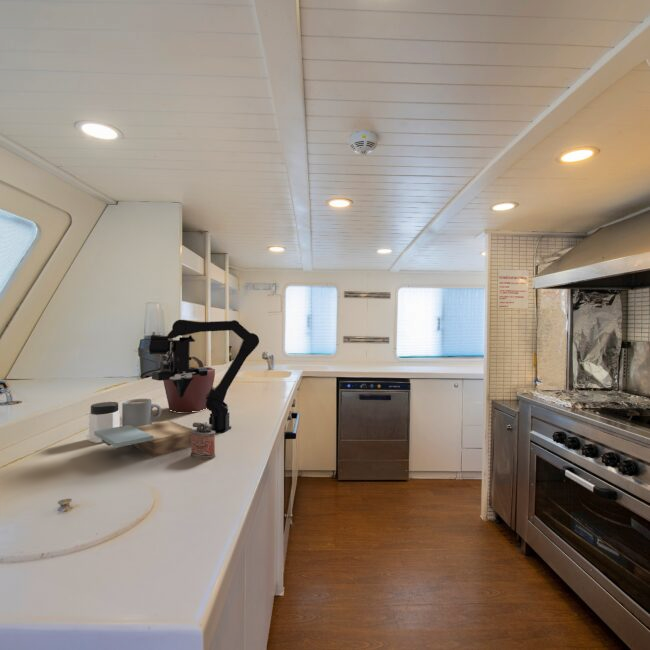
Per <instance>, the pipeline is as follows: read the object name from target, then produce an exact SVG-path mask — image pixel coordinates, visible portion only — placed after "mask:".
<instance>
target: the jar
mask: <svg viewBox="0 0 650 650" xmlns="http://www.w3.org/2000/svg"><path fill="white" fill-rule="evenodd" d="M120 411H121V410H120V409H119V402H117V401H103V402H96V403H93V404H91V405H90V413H88V441H89V442H91V443H95V444H101V443H103V442H102V439H100V438H99V437H97V436H95V435H94V431H97V430H103V429H109V428H114V427H120V425H121V423H120V422H121V420H120V419H121V416H120Z"/></svg>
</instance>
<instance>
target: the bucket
mask: <svg viewBox="0 0 650 650" xmlns="http://www.w3.org/2000/svg"><path fill="white" fill-rule="evenodd" d="M190 357H192V360H193V361H194V362H196V364H197V366H198V367H202V368H206V369H207V370H208V375H207V376H200V375H199V374H196V375H192V378H194V379H192V380H191V382H190V384H189V385H188V387H187V389H186V391H185V393H184V395H183V397H181V398H180V397H179V396H178V393H177V390H176V388H175V385H174V383H173V382H172V381H171V380H162V381H163V386H164V390H165V395H166V400H167V404H168V410H169V411H170V410H172V411H176V412H192V411H200V410H203V409H206V408H207V407H206V400H207V399H206V395H207V394H208V393H209V392H210V390H211V387H212V386H213V387H214V382H215V375H216V373H215V372H216V369H215V368H214V367H211V366H210V367H209V366H207V367H206V366H205V363H204V362H203V360H202V359H200V358H199V357H197V356H196V355H190ZM197 366H190V368H191V369H192V368H196V367H197ZM178 373H179V372H178ZM206 410H207V409H206ZM203 411H204V410H203ZM200 412H201V411H200Z"/></svg>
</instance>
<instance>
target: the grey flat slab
mask: <svg viewBox="0 0 650 650" xmlns="http://www.w3.org/2000/svg"><path fill="white" fill-rule="evenodd" d="M94 435H95V436H97V437H99V438H100V439H102V442H101V443H103V444H105V445H107V446H112V447H114V448H121V447H126V446H132V444H136V443H141V442H145V441H150V440H153V435H150V434H148V433H146V432H144V431H141V430H139V429H137V428H135V427H132V426H130V425H126V426H120V427H114V428H109V429H103V430H97V431H94Z"/></svg>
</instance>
